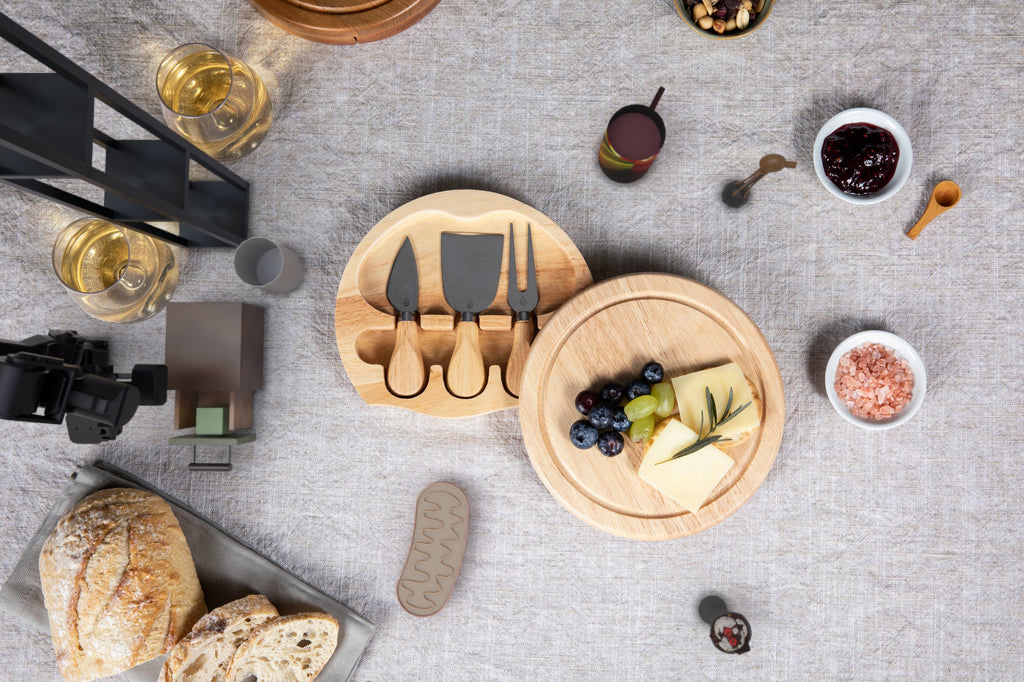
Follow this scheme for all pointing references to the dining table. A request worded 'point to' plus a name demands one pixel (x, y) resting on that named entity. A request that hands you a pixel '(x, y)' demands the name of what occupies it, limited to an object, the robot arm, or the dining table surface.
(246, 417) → the drawer
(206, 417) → the block
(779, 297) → the dining table surface
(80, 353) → the robot arm
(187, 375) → the cabinet
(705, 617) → the sundae
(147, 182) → the rack
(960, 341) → the dining table surface
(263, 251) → the cup
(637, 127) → the mug
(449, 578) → the mitochondrion model
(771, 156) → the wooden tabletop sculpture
